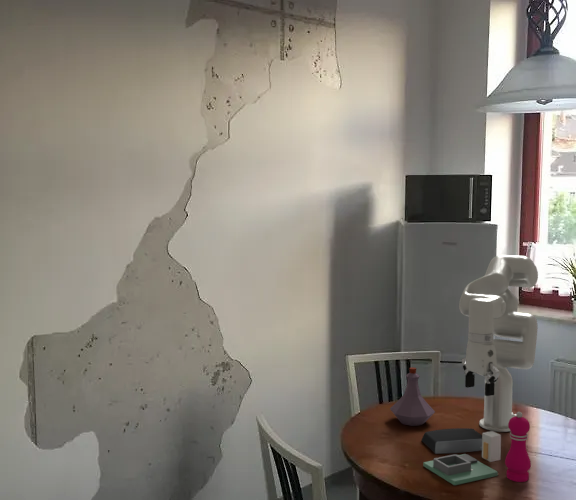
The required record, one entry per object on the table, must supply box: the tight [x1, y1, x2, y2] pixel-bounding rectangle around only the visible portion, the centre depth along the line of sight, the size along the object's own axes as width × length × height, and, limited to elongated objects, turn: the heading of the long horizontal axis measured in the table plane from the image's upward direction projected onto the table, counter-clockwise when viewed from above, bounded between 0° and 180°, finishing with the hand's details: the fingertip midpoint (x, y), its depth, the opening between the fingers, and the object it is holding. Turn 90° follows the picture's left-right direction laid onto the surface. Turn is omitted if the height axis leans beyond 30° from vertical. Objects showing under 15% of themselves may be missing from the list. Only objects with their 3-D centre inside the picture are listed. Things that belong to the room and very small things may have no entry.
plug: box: [481, 430, 502, 463], centre depth 213 cm, size 4×4×8 cm
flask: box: [389, 366, 436, 427], centre depth 247 cm, size 16×16×20 cm
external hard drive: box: [421, 427, 482, 455], centre depth 225 cm, size 13×19×4 cm
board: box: [422, 453, 499, 486], centre depth 204 cm, size 16×15×4 cm
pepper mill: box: [504, 411, 532, 483], centre depth 198 cm, size 7×7×20 cm
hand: (479, 391), depth 213 cm, fingers open, 9 cm apart
